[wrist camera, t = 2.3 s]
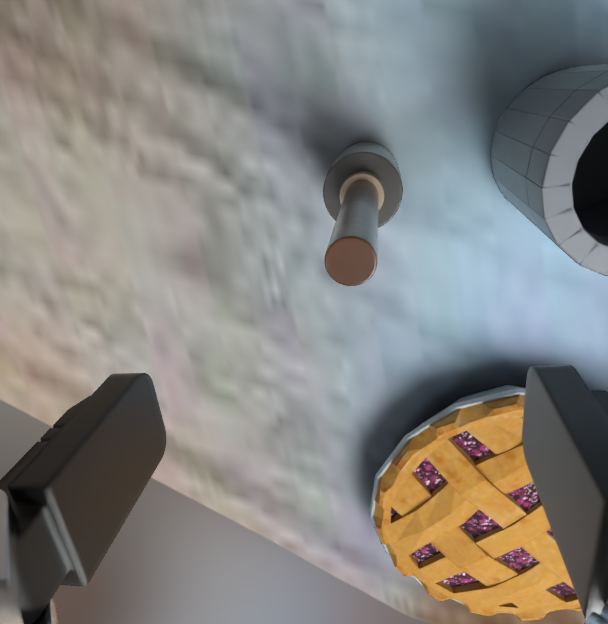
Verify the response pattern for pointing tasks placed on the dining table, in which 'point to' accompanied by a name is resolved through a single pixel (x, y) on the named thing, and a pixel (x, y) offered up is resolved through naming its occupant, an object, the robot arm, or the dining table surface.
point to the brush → (359, 209)
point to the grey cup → (560, 160)
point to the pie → (472, 511)
